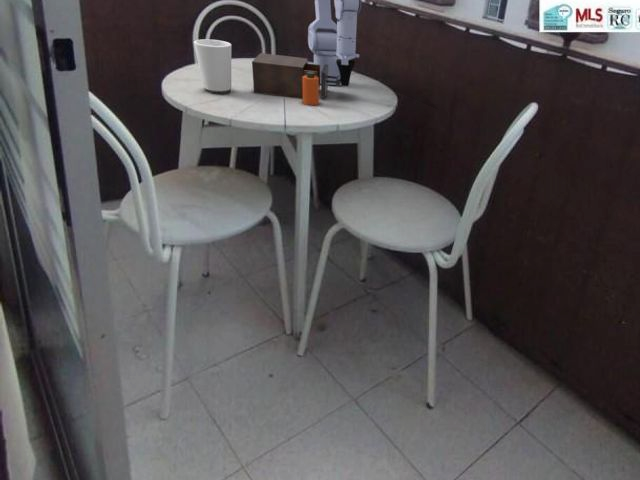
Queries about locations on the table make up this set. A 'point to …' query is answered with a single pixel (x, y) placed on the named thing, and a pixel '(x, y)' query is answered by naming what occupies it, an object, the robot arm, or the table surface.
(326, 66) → the drawer
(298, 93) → the cabinet
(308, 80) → the bottle
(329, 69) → the robot arm
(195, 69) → the table surface
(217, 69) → the cup
